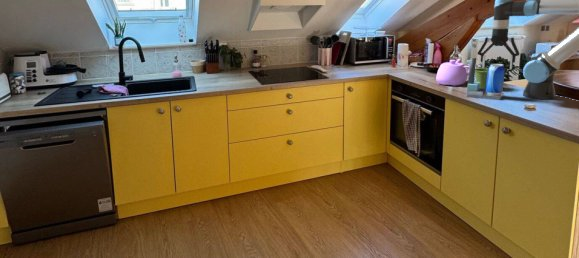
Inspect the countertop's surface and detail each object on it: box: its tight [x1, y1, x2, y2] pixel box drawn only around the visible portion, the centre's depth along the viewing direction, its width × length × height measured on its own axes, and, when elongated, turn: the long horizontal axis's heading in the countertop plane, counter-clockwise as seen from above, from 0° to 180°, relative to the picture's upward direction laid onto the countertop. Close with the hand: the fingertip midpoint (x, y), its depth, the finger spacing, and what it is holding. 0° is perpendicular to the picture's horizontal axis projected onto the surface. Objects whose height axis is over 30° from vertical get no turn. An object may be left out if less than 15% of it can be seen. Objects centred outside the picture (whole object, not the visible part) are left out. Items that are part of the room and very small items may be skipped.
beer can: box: [486, 63, 506, 95], centre depth 233 cm, size 8×8×16 cm
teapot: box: [435, 58, 470, 87], centre depth 270 cm, size 23×21×15 cm
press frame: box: [466, 88, 505, 101], centre depth 237 cm, size 17×11×4 cm, turn 56°
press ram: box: [466, 57, 480, 92], centre depth 238 cm, size 6×8×19 cm
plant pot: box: [475, 67, 489, 88], centre depth 255 cm, size 12×12×11 cm
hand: (496, 68), depth 230 cm, fingers open, 13 cm apart
